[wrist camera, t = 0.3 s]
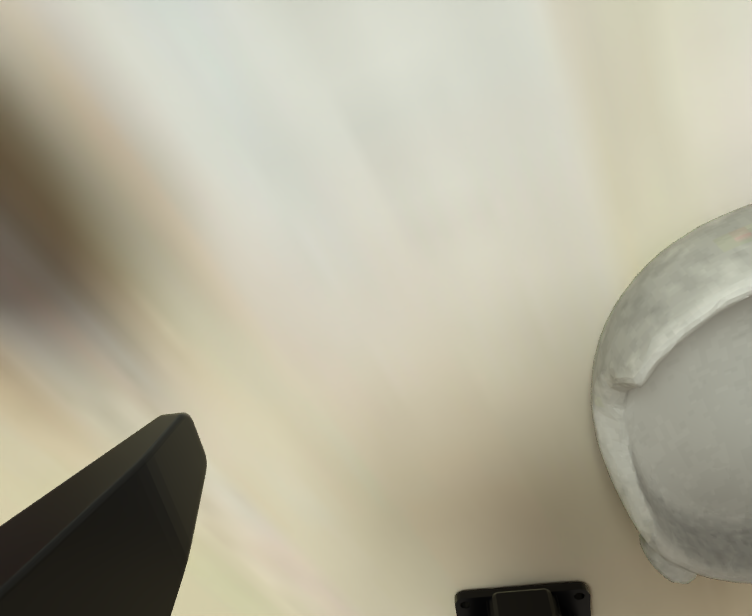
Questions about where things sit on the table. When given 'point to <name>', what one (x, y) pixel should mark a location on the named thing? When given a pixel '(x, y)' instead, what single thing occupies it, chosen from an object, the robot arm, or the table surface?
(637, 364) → the dish
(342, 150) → the table surface
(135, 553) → the robot arm
